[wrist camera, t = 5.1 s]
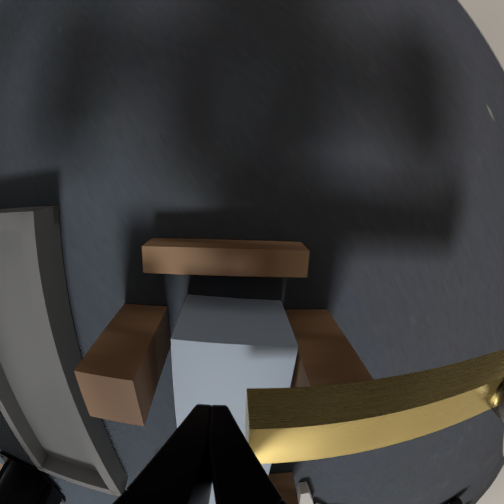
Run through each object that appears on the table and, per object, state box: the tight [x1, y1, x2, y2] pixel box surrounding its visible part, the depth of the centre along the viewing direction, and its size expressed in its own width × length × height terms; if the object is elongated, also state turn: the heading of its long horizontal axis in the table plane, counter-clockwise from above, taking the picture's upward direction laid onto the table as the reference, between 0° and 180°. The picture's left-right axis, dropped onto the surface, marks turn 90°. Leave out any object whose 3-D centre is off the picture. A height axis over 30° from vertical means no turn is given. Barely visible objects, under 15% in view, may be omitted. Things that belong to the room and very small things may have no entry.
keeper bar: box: [245, 350, 504, 464], centre depth 6 cm, size 10×2×2 cm, turn 87°
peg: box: [171, 294, 298, 504], centre depth 13 cm, size 4×16×4 cm, turn 175°
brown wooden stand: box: [74, 238, 373, 504], centre depth 11 cm, size 9×18×5 cm, turn 177°
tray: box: [0, 205, 128, 496], centre depth 12 cm, size 8×20×2 cm, turn 178°
